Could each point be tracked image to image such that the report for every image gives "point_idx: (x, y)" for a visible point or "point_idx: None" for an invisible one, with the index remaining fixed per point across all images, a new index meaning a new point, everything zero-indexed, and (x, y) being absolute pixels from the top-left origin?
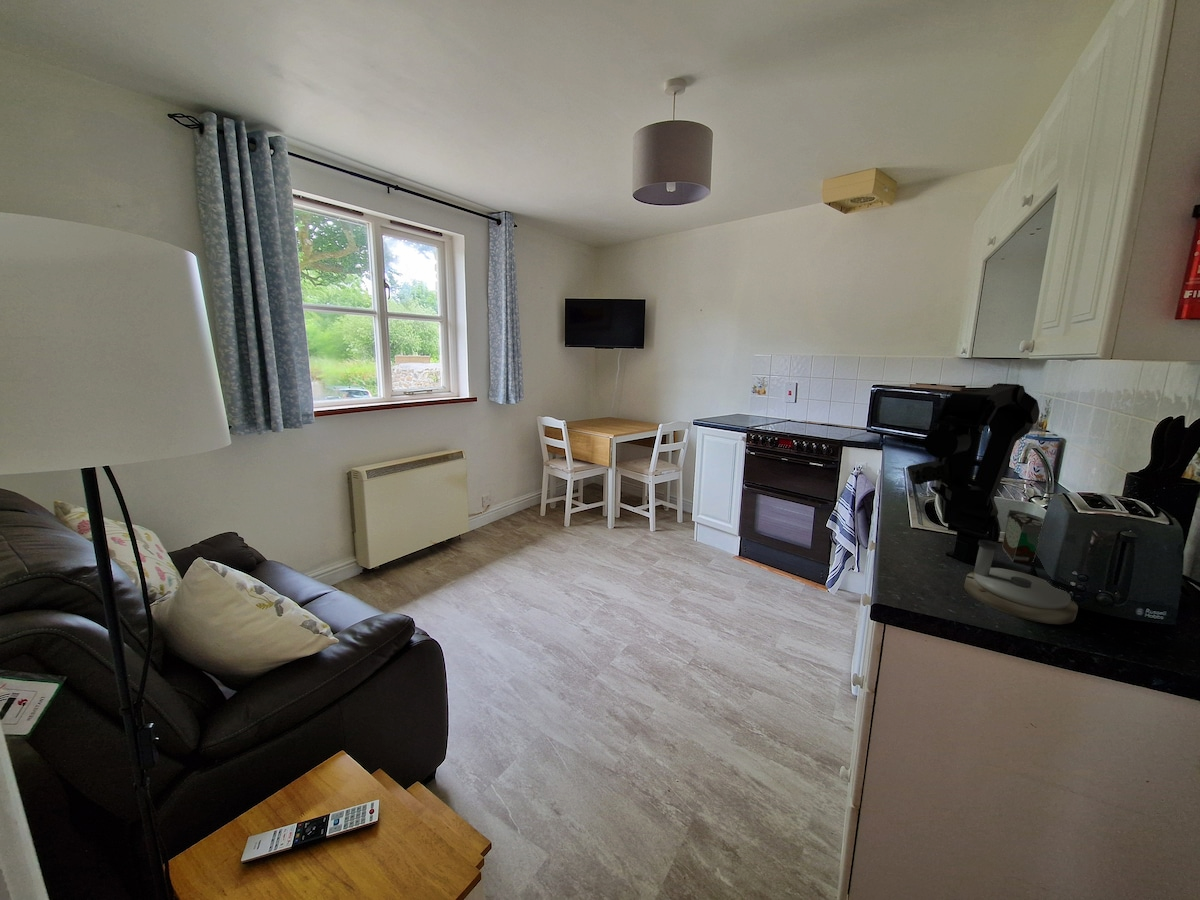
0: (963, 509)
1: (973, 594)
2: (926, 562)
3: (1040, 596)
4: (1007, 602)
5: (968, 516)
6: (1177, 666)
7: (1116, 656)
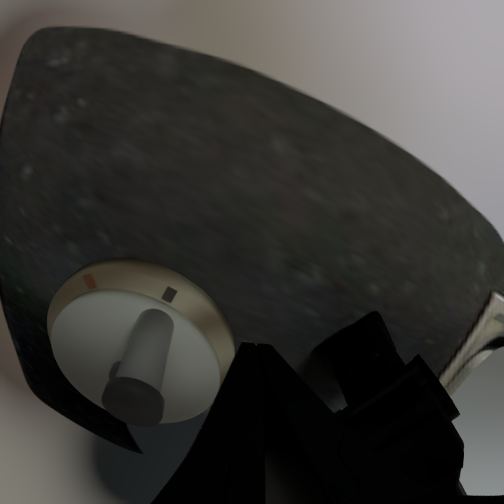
0: (413, 442)
1: (105, 261)
2: (324, 235)
3: (81, 371)
4: (56, 304)
5: (387, 436)
6: (44, 399)
7: (23, 358)
